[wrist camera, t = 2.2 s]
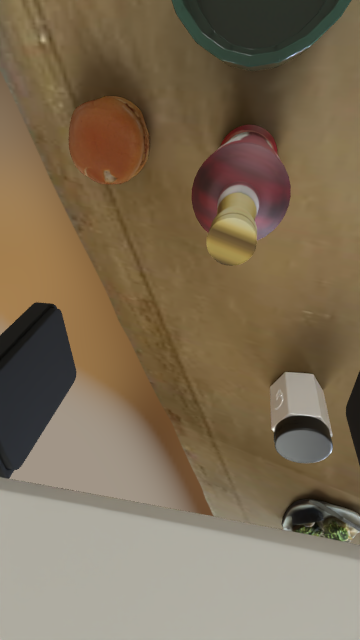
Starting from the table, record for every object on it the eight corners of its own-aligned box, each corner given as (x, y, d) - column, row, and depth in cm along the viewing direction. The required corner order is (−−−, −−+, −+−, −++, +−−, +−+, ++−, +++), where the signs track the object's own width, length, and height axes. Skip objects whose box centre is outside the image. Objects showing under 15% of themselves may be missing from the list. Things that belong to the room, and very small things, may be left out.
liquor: (230, 111, 38) (188, 144, 16) (290, 135, 39) (333, 202, 16) (208, 175, 43) (149, 274, 20) (261, 196, 43) (264, 318, 20)
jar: (292, 362, 56) (298, 419, 47) (332, 383, 57) (347, 444, 48) (261, 392, 62) (261, 449, 52) (299, 412, 62) (306, 471, 53)
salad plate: (387, 511, 74) (394, 533, 70) (354, 545, 84) (358, 566, 80) (298, 488, 76) (300, 509, 72) (276, 525, 86) (277, 545, 82)
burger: (127, 78, 39) (112, 78, 35) (165, 159, 43) (155, 166, 39) (63, 122, 43) (44, 126, 39) (103, 192, 47) (90, 202, 43)
